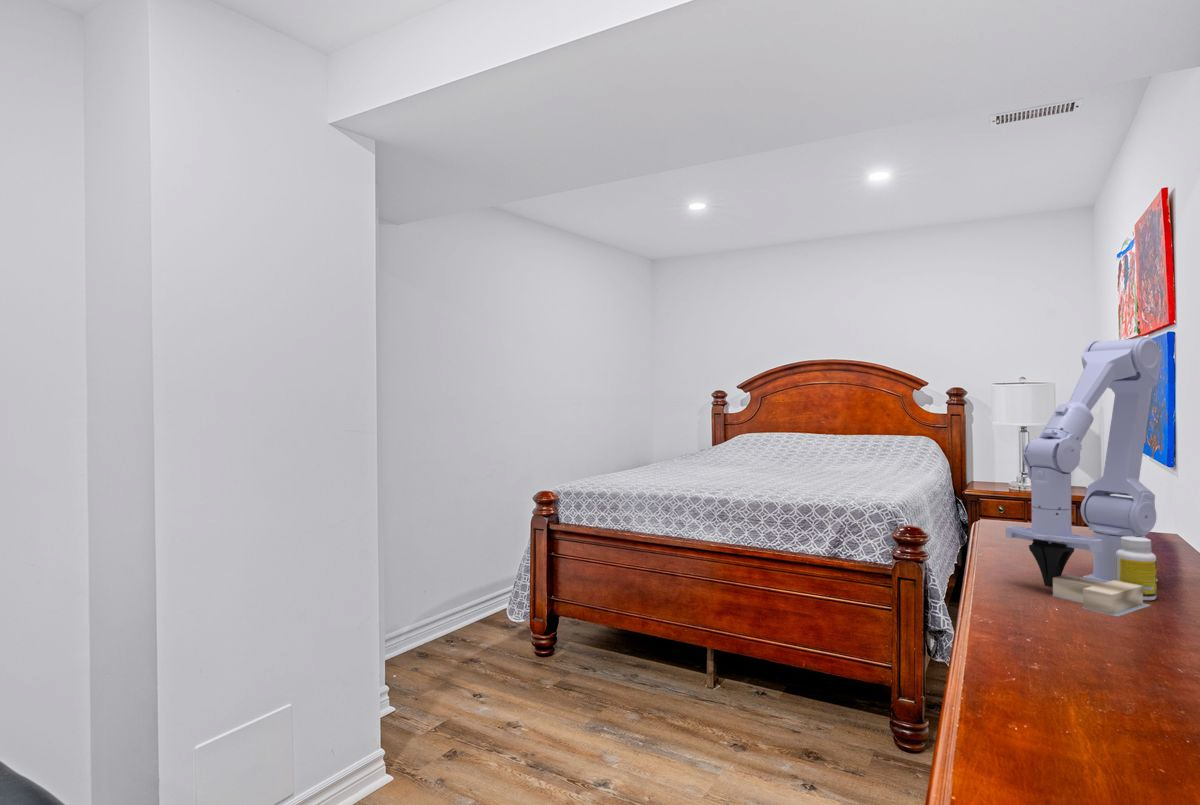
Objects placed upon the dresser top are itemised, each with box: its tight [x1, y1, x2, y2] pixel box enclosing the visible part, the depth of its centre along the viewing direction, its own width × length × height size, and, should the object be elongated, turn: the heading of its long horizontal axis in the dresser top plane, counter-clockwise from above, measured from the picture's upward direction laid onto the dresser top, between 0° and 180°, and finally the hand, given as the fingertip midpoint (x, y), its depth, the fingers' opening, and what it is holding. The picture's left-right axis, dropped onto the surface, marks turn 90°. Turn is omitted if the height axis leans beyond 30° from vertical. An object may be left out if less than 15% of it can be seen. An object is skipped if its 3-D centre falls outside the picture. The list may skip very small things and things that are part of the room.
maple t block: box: [1052, 574, 1144, 614], centre depth 110 cm, size 10×10×3 cm
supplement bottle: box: [1116, 536, 1158, 601], centre depth 113 cm, size 5×5×10 cm
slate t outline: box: [1050, 594, 1152, 618], centre depth 110 cm, size 11×11×1 cm
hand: (1051, 586), depth 116 cm, fingers closed
